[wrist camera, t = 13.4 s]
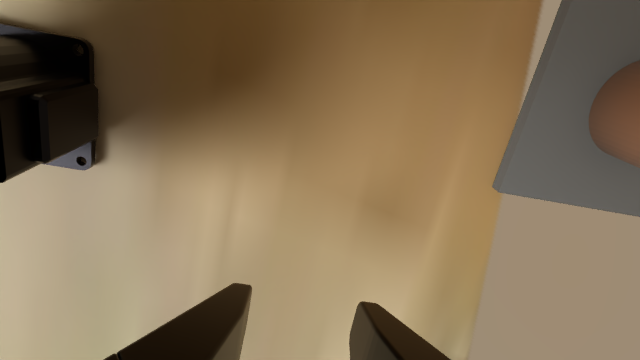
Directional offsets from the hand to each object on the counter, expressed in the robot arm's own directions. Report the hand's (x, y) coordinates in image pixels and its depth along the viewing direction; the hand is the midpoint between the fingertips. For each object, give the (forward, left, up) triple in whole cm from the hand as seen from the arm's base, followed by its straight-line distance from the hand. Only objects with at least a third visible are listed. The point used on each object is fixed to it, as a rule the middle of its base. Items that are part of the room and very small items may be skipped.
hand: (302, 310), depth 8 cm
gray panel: (+16, +5, -13) cm, 21 cm away
